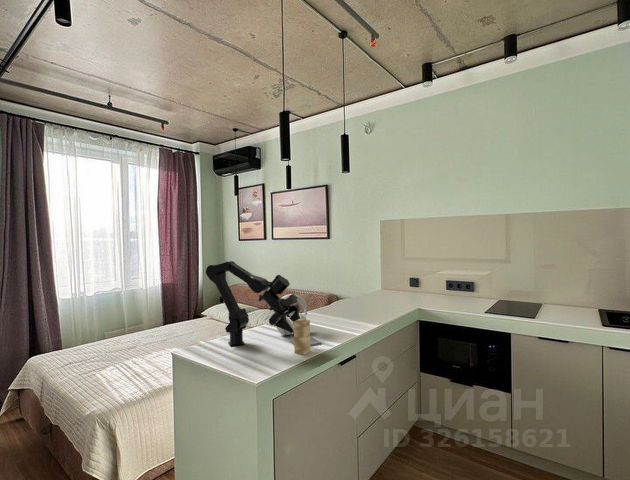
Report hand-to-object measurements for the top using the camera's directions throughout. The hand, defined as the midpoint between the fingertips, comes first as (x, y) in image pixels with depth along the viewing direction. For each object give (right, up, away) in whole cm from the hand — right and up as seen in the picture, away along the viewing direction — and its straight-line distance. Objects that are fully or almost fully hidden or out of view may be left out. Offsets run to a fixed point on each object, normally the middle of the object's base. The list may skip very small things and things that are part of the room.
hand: (297, 329), depth 137 cm
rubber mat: (+3, -9, +11) cm, 15 cm away
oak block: (+2, -9, -1) cm, 10 cm away
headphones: (-5, -10, +26) cm, 28 cm away
